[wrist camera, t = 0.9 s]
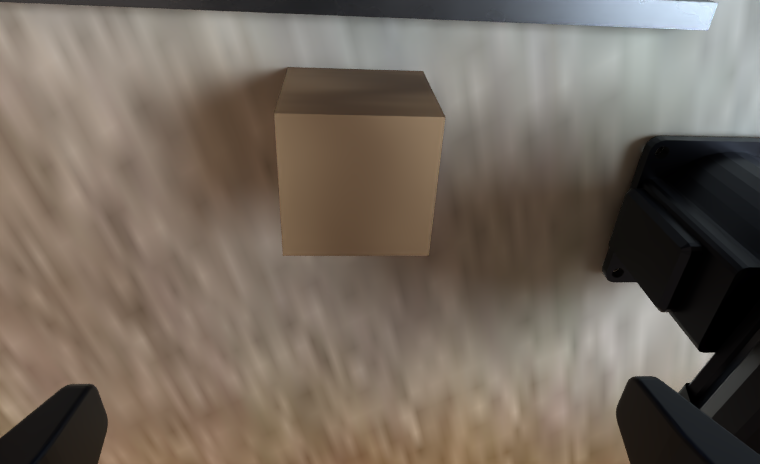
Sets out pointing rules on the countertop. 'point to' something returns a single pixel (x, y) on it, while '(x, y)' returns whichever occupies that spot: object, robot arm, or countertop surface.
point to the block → (357, 162)
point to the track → (461, 10)
